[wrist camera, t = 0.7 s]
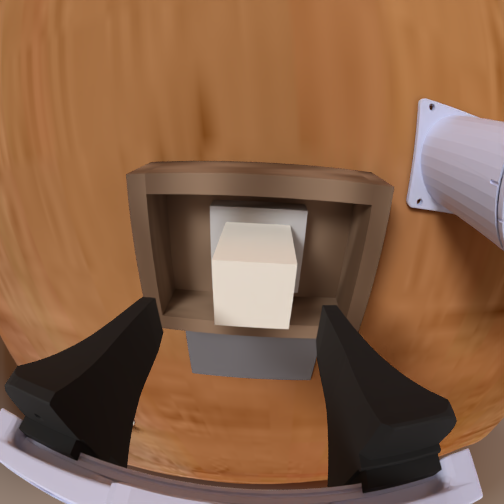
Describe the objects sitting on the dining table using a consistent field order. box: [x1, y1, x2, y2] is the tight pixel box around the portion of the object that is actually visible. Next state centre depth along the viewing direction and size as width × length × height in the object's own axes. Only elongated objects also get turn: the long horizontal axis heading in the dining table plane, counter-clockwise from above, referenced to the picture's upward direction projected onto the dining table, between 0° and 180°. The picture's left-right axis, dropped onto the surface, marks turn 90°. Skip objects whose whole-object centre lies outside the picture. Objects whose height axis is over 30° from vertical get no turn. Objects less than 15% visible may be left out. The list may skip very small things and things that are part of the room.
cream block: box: [212, 222, 297, 329], centre depth 17 cm, size 4×4×5 cm
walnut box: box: [126, 161, 394, 339], centre depth 19 cm, size 15×11×4 cm
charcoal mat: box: [186, 331, 317, 380], centre depth 25 cm, size 12×8×1 cm, turn 88°
